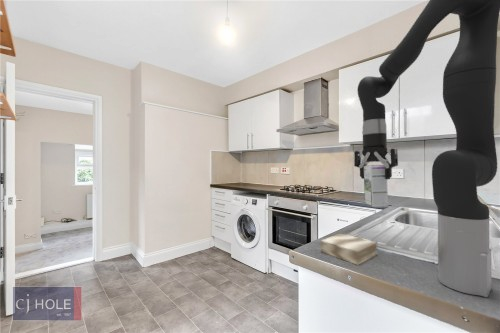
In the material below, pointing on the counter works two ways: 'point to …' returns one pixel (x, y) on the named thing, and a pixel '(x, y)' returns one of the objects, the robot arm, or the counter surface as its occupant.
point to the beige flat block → (349, 248)
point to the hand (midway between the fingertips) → (375, 178)
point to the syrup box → (375, 186)
